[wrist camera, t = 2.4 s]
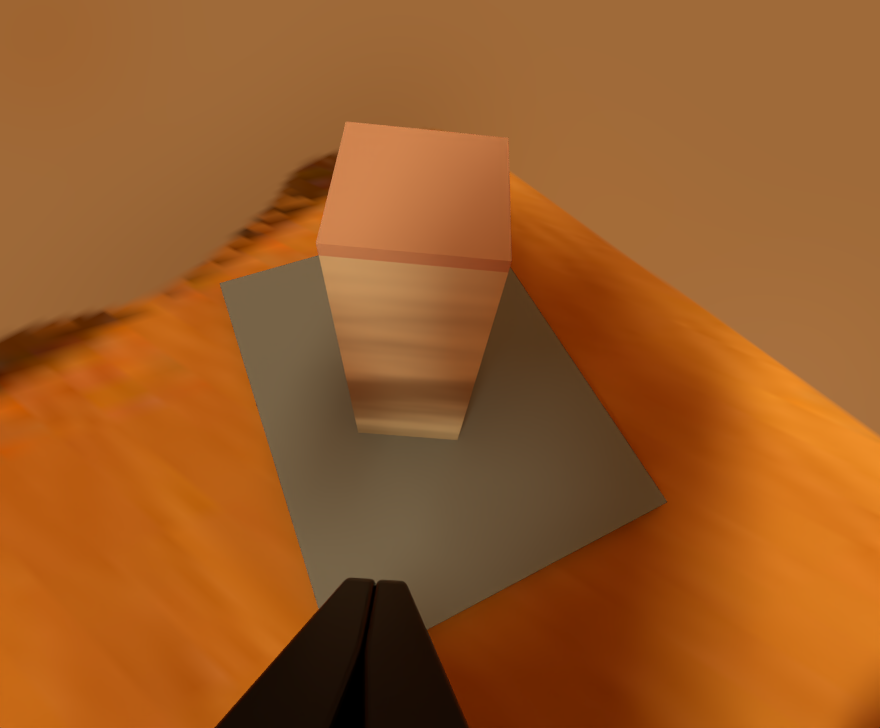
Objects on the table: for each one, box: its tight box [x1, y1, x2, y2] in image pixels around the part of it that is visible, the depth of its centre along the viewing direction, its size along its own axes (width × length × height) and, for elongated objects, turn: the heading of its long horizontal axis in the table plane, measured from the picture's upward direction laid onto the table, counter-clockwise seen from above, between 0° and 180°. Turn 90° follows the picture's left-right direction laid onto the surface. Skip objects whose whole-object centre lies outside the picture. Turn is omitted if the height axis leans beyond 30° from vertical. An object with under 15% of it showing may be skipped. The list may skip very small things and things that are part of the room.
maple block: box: [316, 122, 512, 440], centre depth 17 cm, size 4×4×12 cm
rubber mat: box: [220, 255, 667, 629], centre depth 23 cm, size 15×19×1 cm
